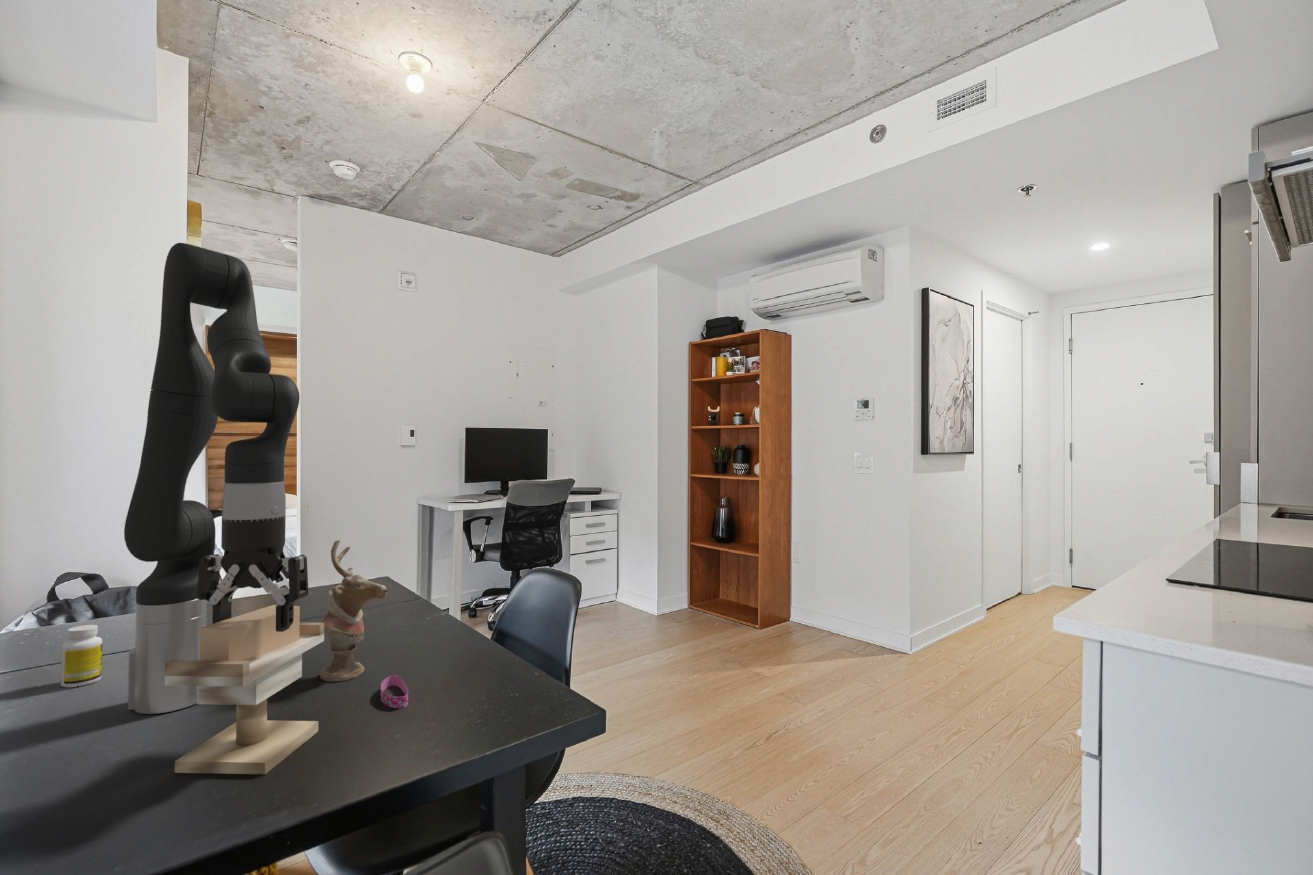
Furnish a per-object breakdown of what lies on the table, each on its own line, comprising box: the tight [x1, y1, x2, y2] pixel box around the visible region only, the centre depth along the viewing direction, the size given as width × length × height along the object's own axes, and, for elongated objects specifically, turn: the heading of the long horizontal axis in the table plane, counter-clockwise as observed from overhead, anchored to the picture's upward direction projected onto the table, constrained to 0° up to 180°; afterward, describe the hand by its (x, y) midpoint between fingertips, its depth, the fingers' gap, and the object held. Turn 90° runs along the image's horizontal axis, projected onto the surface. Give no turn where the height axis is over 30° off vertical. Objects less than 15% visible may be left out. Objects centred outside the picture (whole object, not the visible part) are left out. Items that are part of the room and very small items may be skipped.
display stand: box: [165, 621, 325, 775], centre depth 86 cm, size 12×18×15 cm, turn 179°
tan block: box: [200, 604, 301, 661], centre depth 86 cm, size 4×12×5 cm, turn 169°
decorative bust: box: [319, 539, 389, 682], centre depth 115 cm, size 11×13×25 cm
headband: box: [380, 674, 409, 709], centre depth 104 cm, size 11×4×2 cm, turn 33°
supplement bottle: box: [60, 624, 103, 688], centre depth 110 cm, size 5×5×10 cm
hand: (252, 630), depth 86 cm, fingers open, 8 cm apart
